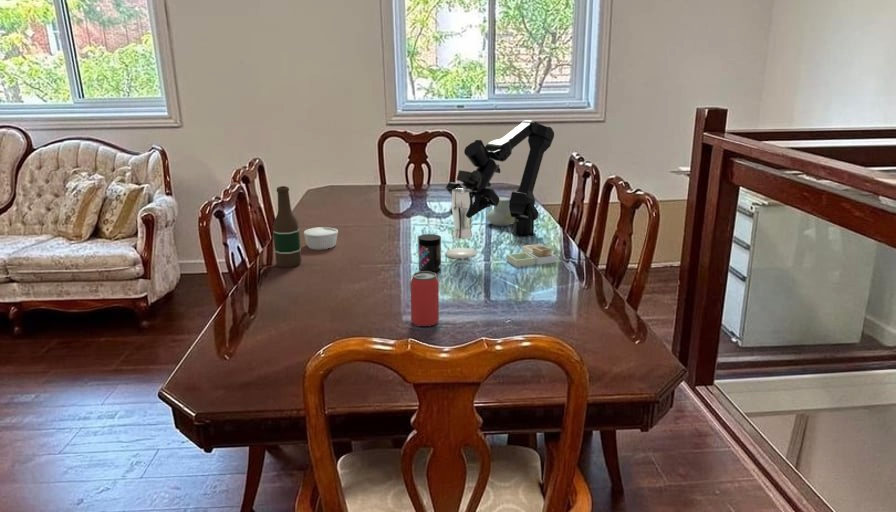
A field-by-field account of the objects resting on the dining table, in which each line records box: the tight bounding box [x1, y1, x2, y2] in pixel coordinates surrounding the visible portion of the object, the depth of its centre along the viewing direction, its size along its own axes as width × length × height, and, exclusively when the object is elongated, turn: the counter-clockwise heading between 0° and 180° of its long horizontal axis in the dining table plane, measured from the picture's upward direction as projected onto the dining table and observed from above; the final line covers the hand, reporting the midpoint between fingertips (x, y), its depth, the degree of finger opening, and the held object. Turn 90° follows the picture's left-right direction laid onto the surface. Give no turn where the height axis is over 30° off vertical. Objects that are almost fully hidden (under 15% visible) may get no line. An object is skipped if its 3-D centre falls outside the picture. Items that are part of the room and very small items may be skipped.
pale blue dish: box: [528, 252, 557, 266], centre depth 189 cm, size 6×6×2 cm
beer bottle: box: [272, 185, 302, 269], centre depth 184 cm, size 8×8×24 cm
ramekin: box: [303, 226, 339, 251], centre depth 206 cm, size 11×11×5 cm
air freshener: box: [486, 196, 515, 227], centre depth 232 cm, size 11×8×10 cm
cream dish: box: [521, 243, 544, 254], centre depth 196 cm, size 6×6×2 cm
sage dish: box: [506, 252, 536, 268], centre depth 187 cm, size 6×6×2 cm
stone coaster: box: [445, 247, 478, 260], centre depth 197 cm, size 10×10×1 cm
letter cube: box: [533, 245, 552, 258], centre depth 189 cm, size 4×4×4 cm
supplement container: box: [417, 233, 442, 274], centre depth 180 cm, size 7×7×10 cm
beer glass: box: [451, 187, 475, 240], centre depth 193 cm, size 7×7×15 cm
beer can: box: [409, 271, 440, 327], centre depth 144 cm, size 7×7×12 cm
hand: (459, 215), depth 192 cm, fingers closed on beer glass, 6 cm apart
